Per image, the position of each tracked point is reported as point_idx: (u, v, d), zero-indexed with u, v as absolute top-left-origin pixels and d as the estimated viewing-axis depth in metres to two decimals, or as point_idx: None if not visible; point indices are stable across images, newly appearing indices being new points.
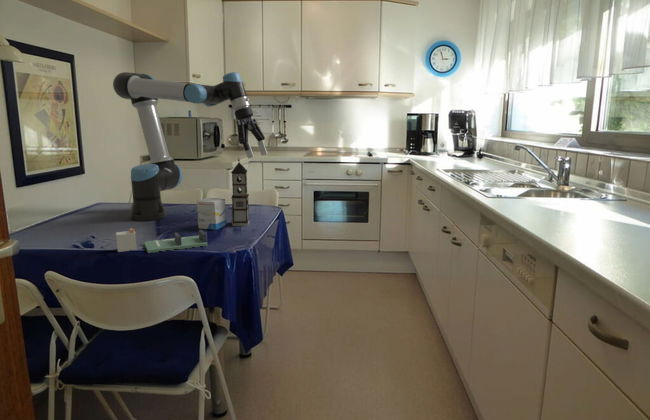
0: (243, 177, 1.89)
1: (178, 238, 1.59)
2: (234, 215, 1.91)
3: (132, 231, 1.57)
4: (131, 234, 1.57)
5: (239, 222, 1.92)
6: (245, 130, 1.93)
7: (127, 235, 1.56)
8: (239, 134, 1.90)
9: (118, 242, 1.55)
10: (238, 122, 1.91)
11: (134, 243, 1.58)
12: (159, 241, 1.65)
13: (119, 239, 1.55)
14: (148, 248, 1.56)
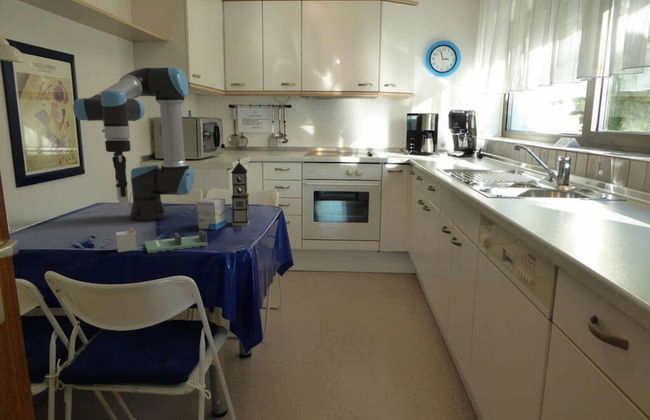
0: (243, 177, 1.89)
1: (178, 238, 1.59)
2: (234, 215, 1.91)
3: (132, 231, 1.57)
4: (131, 234, 1.57)
5: (239, 222, 1.92)
6: None
7: (127, 235, 1.56)
8: None
9: (118, 242, 1.55)
10: None
11: (134, 243, 1.58)
12: (159, 241, 1.65)
13: (119, 239, 1.55)
14: (148, 248, 1.56)
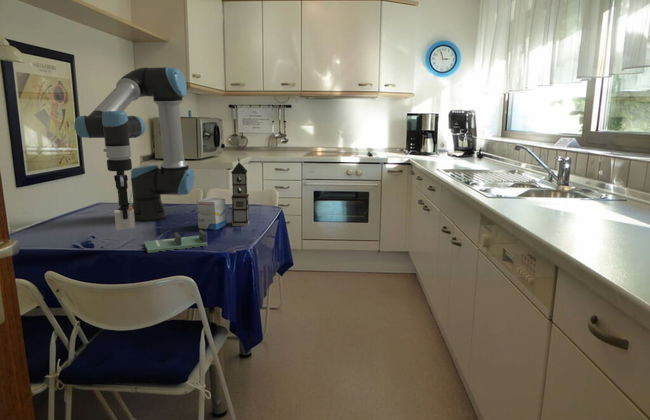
0: (243, 177, 1.89)
1: (178, 238, 1.59)
2: (234, 215, 1.91)
3: (130, 209, 1.56)
4: (129, 212, 1.55)
5: (239, 222, 1.92)
6: None
7: None
8: None
9: (116, 220, 1.54)
10: None
11: (132, 221, 1.56)
12: (159, 241, 1.65)
13: (117, 217, 1.54)
14: (148, 248, 1.56)
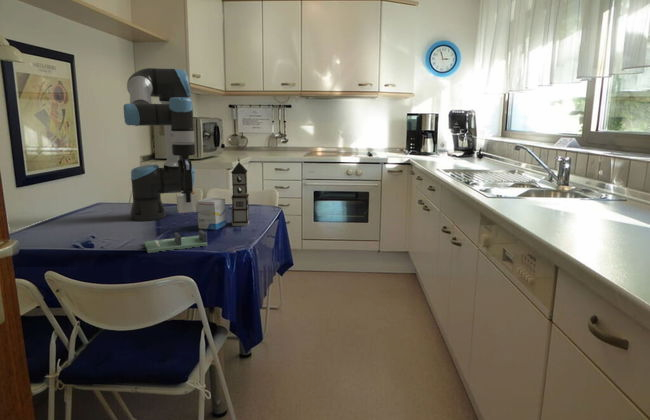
0: (243, 177, 1.89)
1: (178, 238, 1.59)
2: (234, 215, 1.91)
3: (193, 193, 1.61)
4: (192, 196, 1.60)
5: (239, 222, 1.92)
6: None
7: None
8: None
9: (179, 203, 1.59)
10: None
11: (194, 205, 1.61)
12: (159, 241, 1.65)
13: (180, 200, 1.59)
14: (148, 248, 1.56)
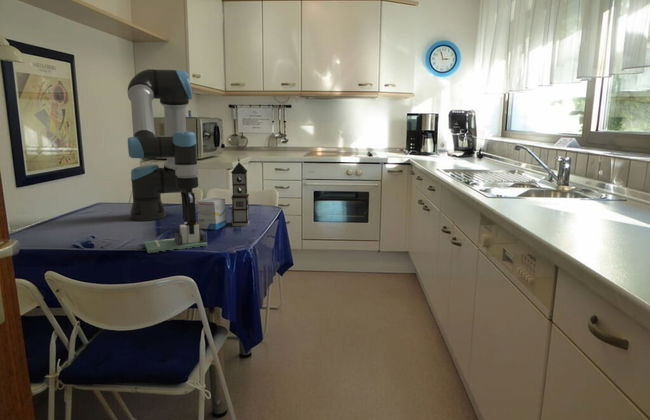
0: (243, 177, 1.89)
1: (178, 238, 1.59)
2: (234, 215, 1.91)
3: (196, 224, 1.63)
4: (195, 227, 1.63)
5: (239, 222, 1.92)
6: None
7: None
8: None
9: (183, 234, 1.61)
10: None
11: (197, 235, 1.64)
12: (159, 241, 1.65)
13: (184, 231, 1.61)
14: (148, 248, 1.56)
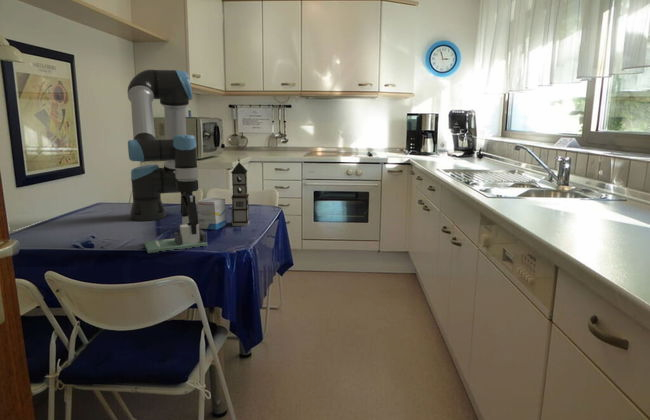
0: (243, 177, 1.89)
1: (178, 238, 1.59)
2: (234, 215, 1.91)
3: None
4: None
5: (239, 222, 1.92)
6: None
7: None
8: None
9: (183, 234, 1.61)
10: None
11: None
12: (159, 241, 1.65)
13: (184, 231, 1.61)
14: (148, 248, 1.56)
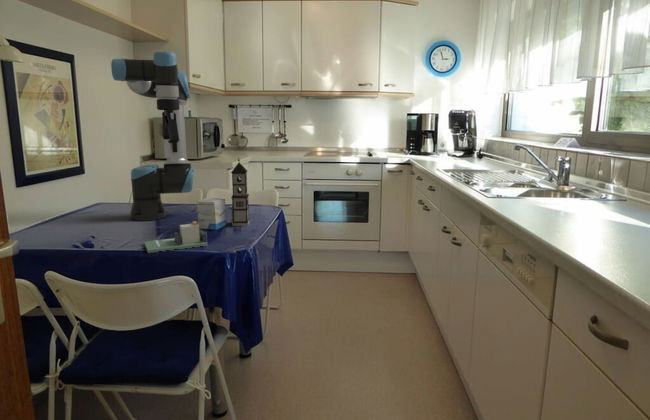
0: (243, 177, 1.89)
1: (178, 238, 1.59)
2: (234, 215, 1.91)
3: (196, 224, 1.63)
4: (195, 227, 1.63)
5: (239, 222, 1.92)
6: None
7: (191, 227, 1.62)
8: None
9: (183, 234, 1.61)
10: None
11: (197, 235, 1.64)
12: (159, 241, 1.65)
13: (184, 231, 1.61)
14: (148, 248, 1.56)
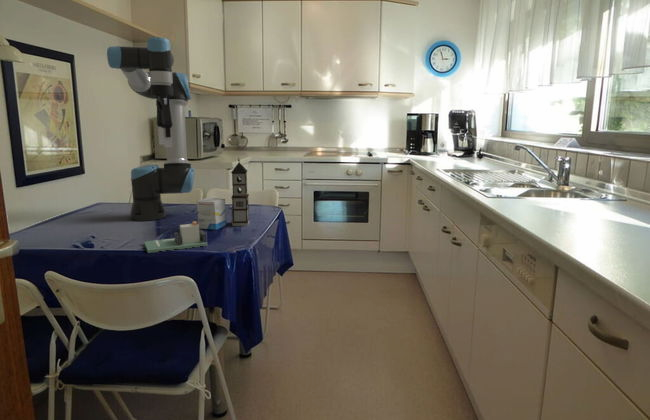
0: (243, 177, 1.89)
1: (178, 238, 1.59)
2: (234, 215, 1.91)
3: (196, 224, 1.63)
4: (195, 227, 1.63)
5: (239, 222, 1.92)
6: None
7: (191, 227, 1.62)
8: None
9: (183, 234, 1.61)
10: None
11: (197, 235, 1.64)
12: (159, 241, 1.65)
13: (184, 231, 1.61)
14: (148, 248, 1.56)
